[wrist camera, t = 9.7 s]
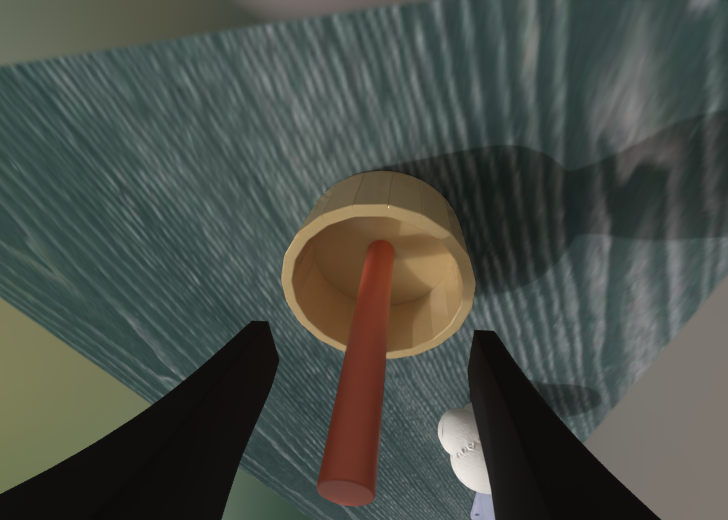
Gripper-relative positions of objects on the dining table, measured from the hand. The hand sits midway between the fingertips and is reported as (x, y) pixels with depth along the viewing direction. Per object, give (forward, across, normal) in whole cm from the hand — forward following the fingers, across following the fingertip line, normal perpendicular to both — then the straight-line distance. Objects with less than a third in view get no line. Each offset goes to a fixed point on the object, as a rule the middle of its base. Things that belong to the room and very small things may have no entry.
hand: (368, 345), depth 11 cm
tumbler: (+7, 0, 0) cm, 7 cm away
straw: (+6, 0, 0) cm, 6 cm away
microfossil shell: (+7, -6, +13) cm, 16 cm away
